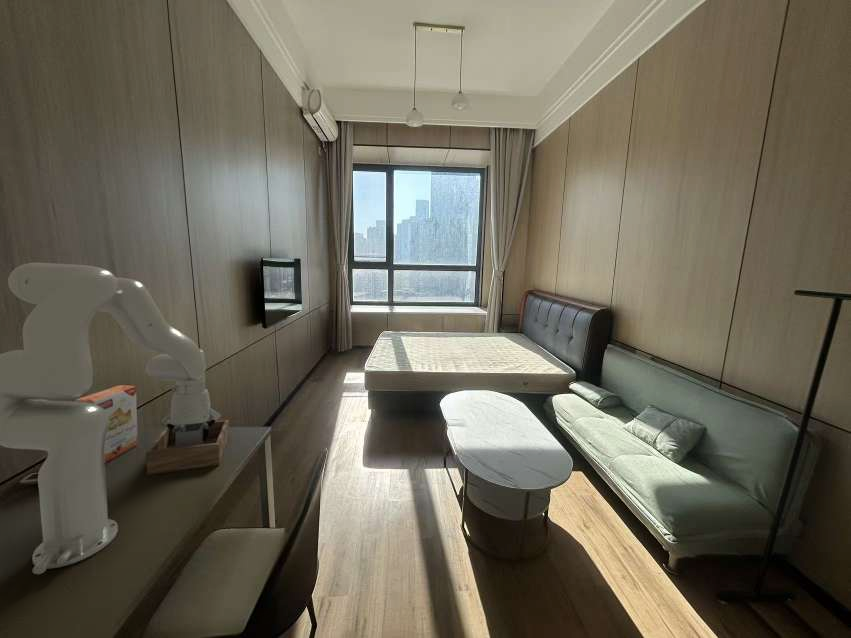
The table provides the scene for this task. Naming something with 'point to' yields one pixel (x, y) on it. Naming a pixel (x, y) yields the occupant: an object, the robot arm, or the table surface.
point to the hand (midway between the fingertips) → (192, 440)
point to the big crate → (187, 451)
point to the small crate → (189, 435)
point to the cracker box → (117, 418)
